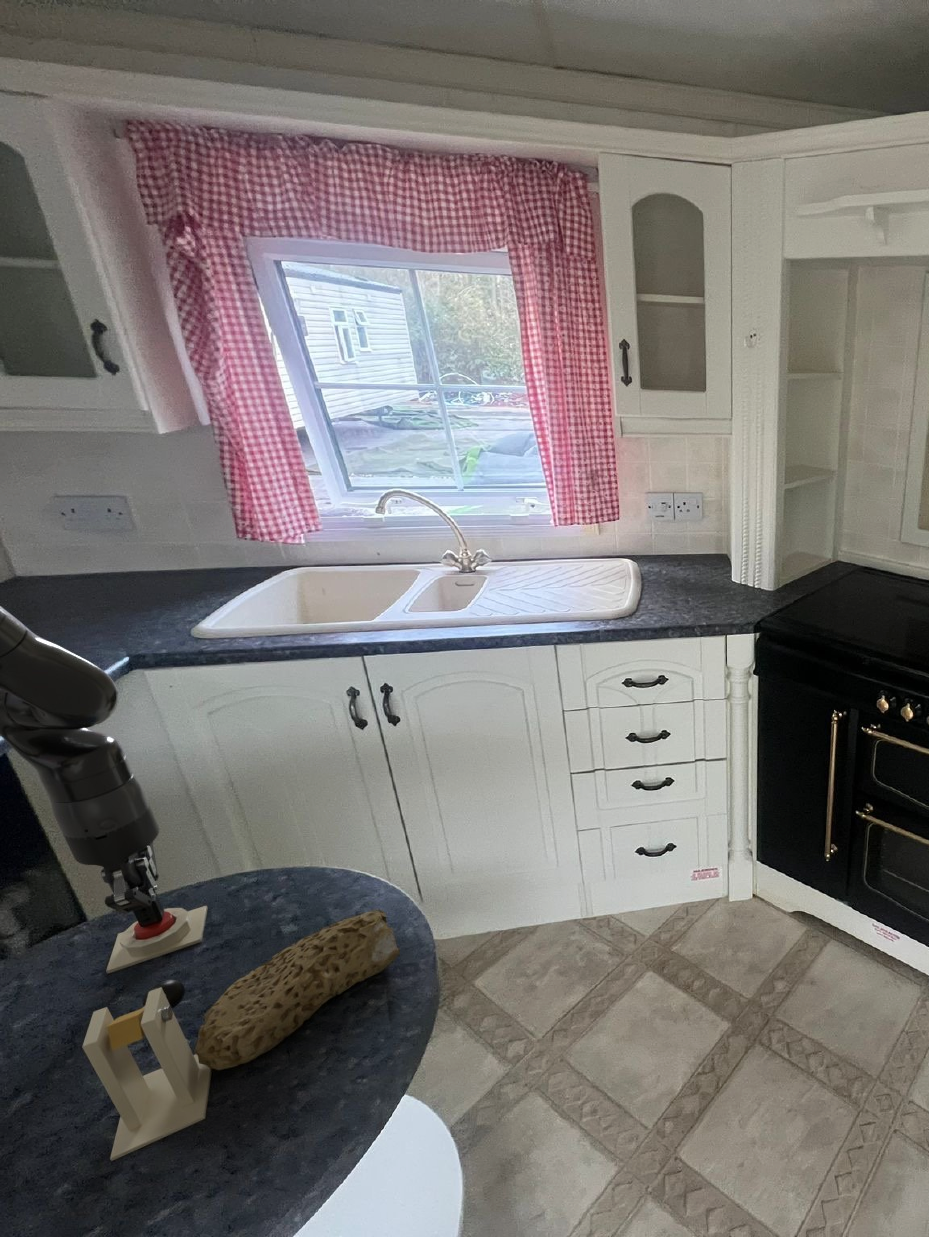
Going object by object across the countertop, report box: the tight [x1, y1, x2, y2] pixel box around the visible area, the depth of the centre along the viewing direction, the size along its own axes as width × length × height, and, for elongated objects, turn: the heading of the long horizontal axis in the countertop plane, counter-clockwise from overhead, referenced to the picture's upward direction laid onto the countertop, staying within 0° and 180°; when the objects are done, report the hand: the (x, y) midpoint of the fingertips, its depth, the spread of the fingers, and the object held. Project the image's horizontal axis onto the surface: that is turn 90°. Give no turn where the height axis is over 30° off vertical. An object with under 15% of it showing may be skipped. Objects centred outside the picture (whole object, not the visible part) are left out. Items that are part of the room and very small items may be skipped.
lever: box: [107, 979, 186, 1050], centre depth 71 cm, size 14×3×3 cm, turn 35°
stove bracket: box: [81, 987, 213, 1162], centre depth 68 cm, size 9×7×14 cm
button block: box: [105, 905, 209, 975], centre depth 88 cm, size 9×7×3 cm
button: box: [134, 911, 175, 940], centre depth 88 cm, size 4×4×2 cm
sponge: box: [194, 909, 401, 1071], centre depth 81 cm, size 13×8×20 cm
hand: (153, 921), depth 88 cm, fingers closed
